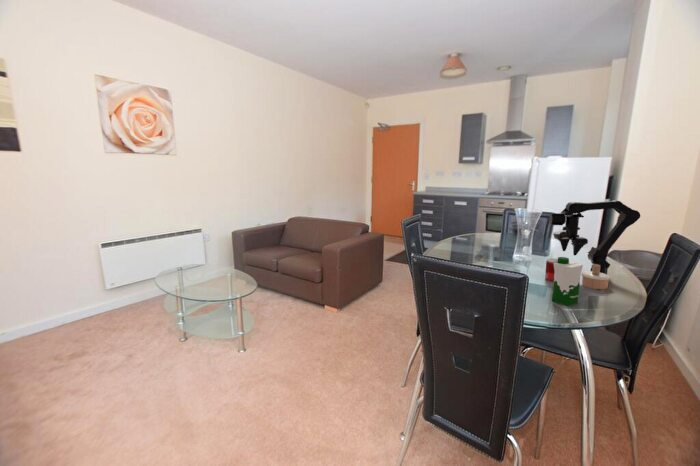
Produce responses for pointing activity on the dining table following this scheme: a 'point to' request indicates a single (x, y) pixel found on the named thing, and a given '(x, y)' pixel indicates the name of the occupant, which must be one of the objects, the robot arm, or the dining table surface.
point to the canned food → (550, 269)
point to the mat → (589, 291)
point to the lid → (595, 273)
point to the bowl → (594, 283)
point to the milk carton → (566, 281)
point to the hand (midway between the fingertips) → (569, 253)
